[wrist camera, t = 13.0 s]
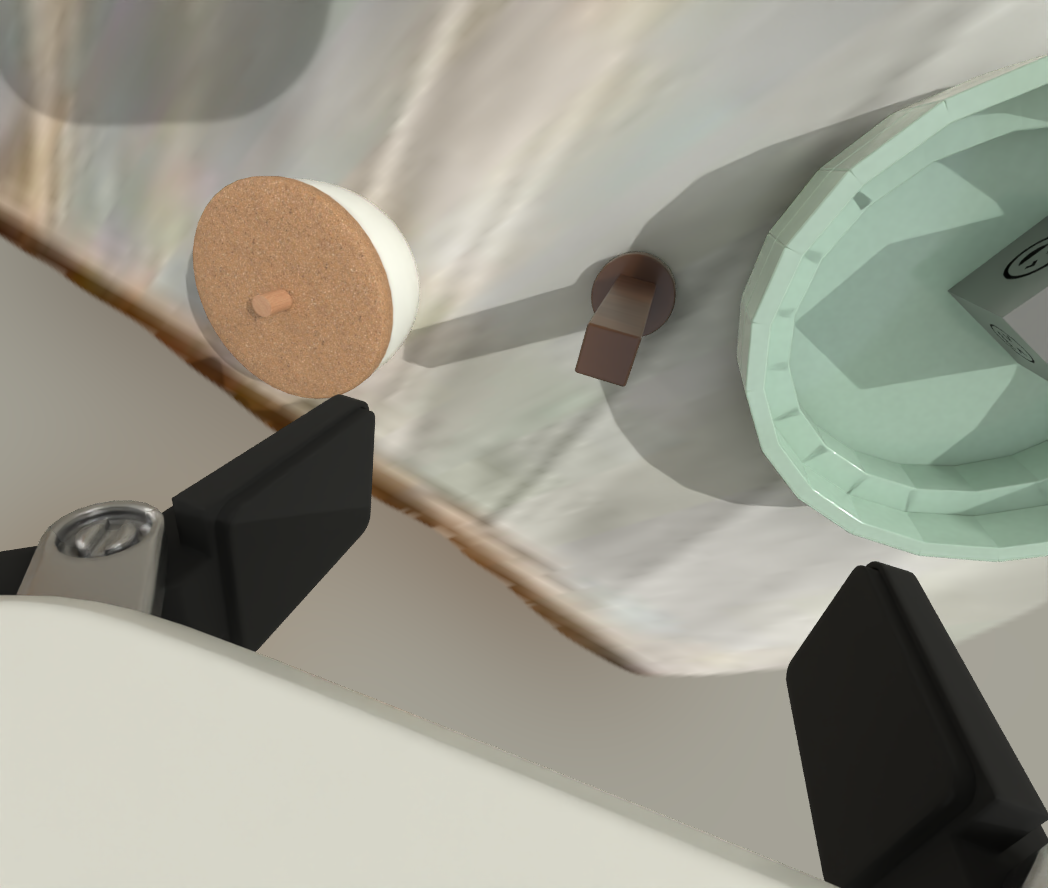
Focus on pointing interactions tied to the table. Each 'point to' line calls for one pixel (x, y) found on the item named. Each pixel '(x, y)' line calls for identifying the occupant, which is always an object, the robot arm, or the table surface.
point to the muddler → (625, 314)
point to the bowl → (908, 329)
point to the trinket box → (304, 282)
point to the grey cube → (1013, 298)
